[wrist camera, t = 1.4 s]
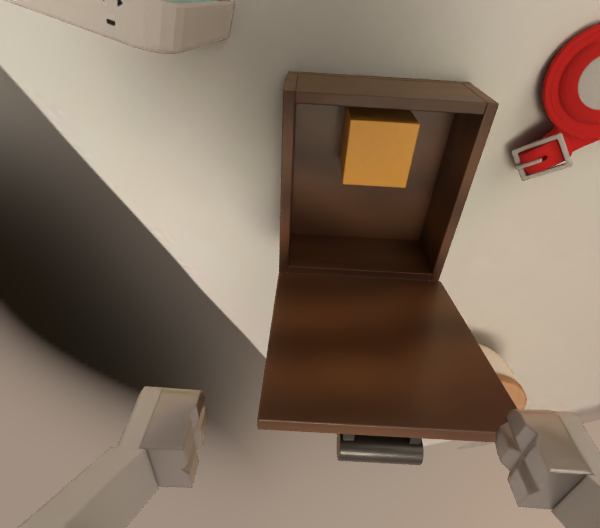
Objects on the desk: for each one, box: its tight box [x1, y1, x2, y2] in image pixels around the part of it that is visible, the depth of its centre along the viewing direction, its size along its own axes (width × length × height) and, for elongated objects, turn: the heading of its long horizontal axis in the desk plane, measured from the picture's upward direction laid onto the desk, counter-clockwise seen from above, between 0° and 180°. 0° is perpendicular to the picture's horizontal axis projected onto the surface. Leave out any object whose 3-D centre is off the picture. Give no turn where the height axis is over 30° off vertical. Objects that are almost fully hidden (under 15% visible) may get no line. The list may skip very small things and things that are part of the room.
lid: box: [257, 272, 517, 465], centre depth 29 cm, size 16×15×5 cm
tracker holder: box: [512, 24, 600, 181], centre depth 31 cm, size 12×4×10 cm
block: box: [339, 106, 420, 188], centre depth 31 cm, size 5×5×5 cm
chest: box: [279, 71, 499, 281], centre depth 33 cm, size 16×15×6 cm
